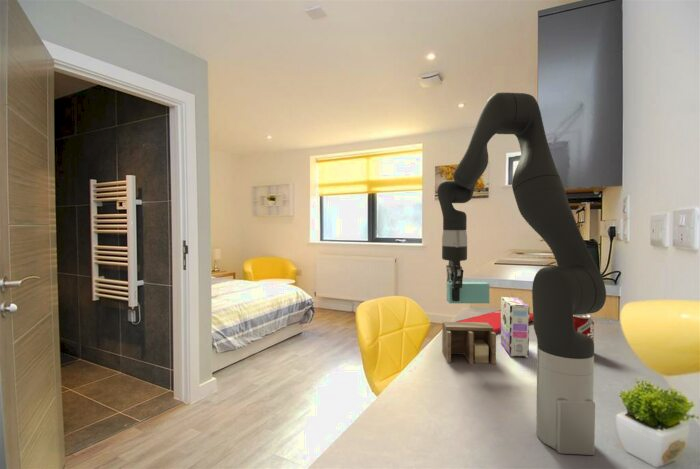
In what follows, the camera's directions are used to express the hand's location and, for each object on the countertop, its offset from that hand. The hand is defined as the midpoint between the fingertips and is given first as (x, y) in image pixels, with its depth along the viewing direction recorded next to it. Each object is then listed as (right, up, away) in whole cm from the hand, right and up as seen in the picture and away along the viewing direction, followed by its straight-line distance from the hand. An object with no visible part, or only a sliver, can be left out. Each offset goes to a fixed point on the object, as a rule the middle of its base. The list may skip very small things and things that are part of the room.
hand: (454, 299), depth 111 cm
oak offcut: (+7, -18, -2) cm, 20 cm away
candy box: (+21, -18, +6) cm, 29 cm away
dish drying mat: (+27, -18, +36) cm, 48 cm away
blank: (+4, -1, 0) cm, 4 cm away
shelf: (+4, -18, -1) cm, 18 cm away
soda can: (+42, -18, +4) cm, 46 cm away
